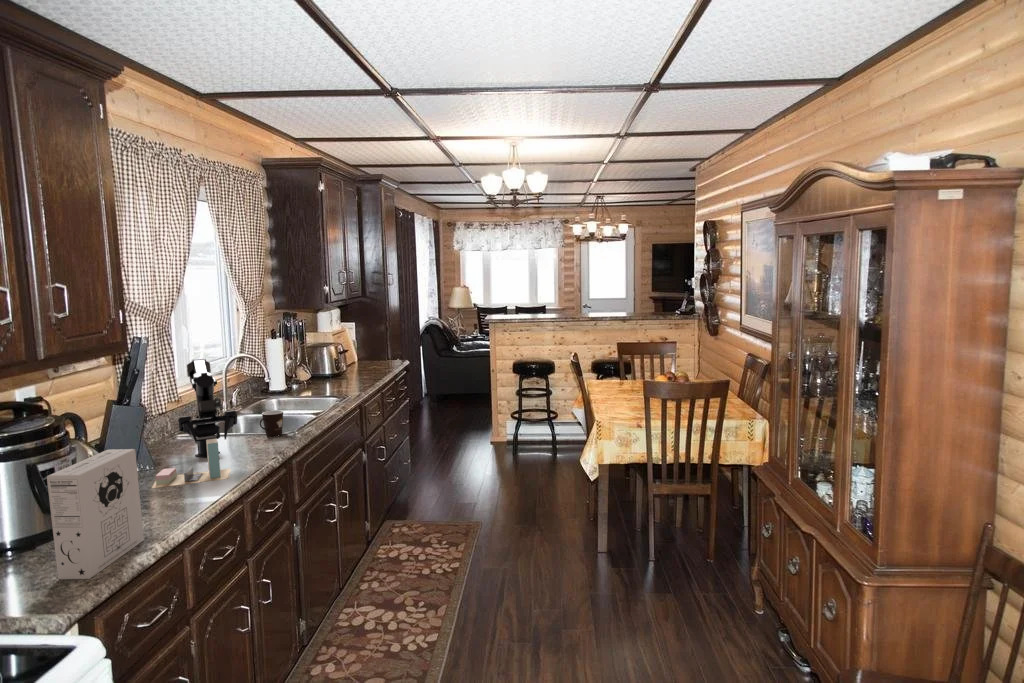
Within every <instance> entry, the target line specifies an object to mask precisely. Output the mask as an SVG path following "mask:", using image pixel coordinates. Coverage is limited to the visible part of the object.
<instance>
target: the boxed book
mask: <svg viewBox="0 0 1024 683" xmlns="http://www.w3.org/2000/svg"><path fill="white" fill-rule="evenodd" d="M206 444H207V457H206V458H207V465H208V466H207V467H208V471H209V476H210V479H212V478H218V477H221V475H220V470H221V466H220V462H221V461H220V453H219V452H220V451H219V442H218V439H208V440H206Z"/></svg>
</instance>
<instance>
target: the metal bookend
mask: <svg viewBox="0 0 1024 683" xmlns="http://www.w3.org/2000/svg"><path fill="white" fill-rule="evenodd" d="M193 473H194V467H193V466H190V467H189V468H188V469H186V471H185V472H184V473H183V474H184V479H185V482H193V481H198V480H199V478H200V477H201V476H202V475H203V474H193Z"/></svg>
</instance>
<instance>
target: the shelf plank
mask: <svg viewBox="0 0 1024 683" xmlns="http://www.w3.org/2000/svg"><path fill="white" fill-rule="evenodd" d="M231 470H232V469H231V468H224V469H220V475H221V477H218V478H212V479H210V476H209V470H207V471H199V472H193V474H203V475H202V476H201V477H200V478H199V480H198V481H193V482H185V479H184V473H183V474H177V477H176V478H175V479H174V480H173V481H172V482H171V483H170V484H161V485H156V480H155V481H154V483H153V485H152V486H151V489H156V488H165V487H172V486H181V485H182V486H183V485H189V484H197V483H205V482H213V481H214V482H215V481H222V480H229V478H230V475H231V474H230V473H231Z"/></svg>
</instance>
